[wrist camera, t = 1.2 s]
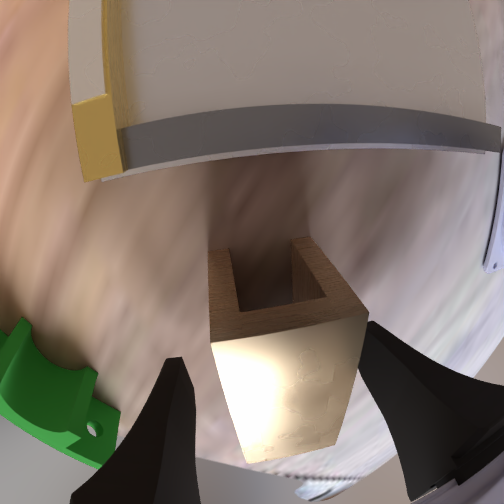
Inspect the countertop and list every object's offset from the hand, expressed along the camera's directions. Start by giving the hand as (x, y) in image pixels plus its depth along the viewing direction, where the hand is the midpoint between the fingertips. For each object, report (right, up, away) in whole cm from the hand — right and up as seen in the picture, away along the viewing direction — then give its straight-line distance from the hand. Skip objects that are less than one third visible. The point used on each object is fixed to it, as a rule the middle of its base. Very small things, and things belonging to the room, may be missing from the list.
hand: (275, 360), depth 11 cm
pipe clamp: (-12, -2, +2) cm, 13 cm away
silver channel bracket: (+2, +13, -4) cm, 14 cm away
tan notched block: (0, +1, +2) cm, 2 cm away
